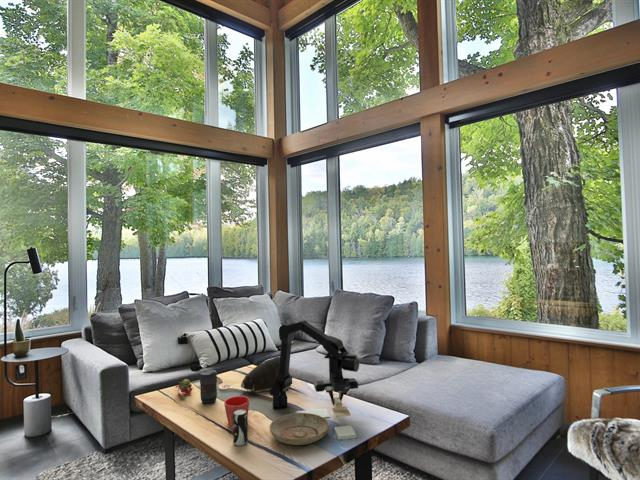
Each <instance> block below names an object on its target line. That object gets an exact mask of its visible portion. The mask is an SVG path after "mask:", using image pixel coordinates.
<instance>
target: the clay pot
mask: <svg viewBox="0 0 640 480" xmlns="http://www.w3.org/2000/svg"><path fill="white" fill-rule="evenodd" d="M279 362H280V356H275V357H273V358H270V359H268V360H264V362H262V363H260V364H257V366H256V367H254V368H253V369H252V370H250V371H249V372H248V374H246V375H244V377H243V379H242V381H241V382H240V387H241V389H244V390H246V391H252V392H254V393H260V392H263V391H269V390H270V389H271V388H272V387H273V386H274V381H275V378H276V376H277V374H278V372H279Z"/></svg>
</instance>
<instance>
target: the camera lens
mask: <svg viewBox="0 0 640 480" xmlns="http://www.w3.org/2000/svg"><path fill="white" fill-rule="evenodd" d="M217 375H218V373H217V370H215V369H206V370H202V371H201V372H200V373H199V385H200V387H199V388H200V389H199V390H200V395H199V396H200V401H201V404H202V405H206V406H207V405H208V406H210V405H213V404H215V403H216V402H217V397H218V390H217V389H218V388H217V387H218V385H217V383H218V380H217V379H218V376H217Z"/></svg>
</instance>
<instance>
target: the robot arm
mask: <svg viewBox="0 0 640 480" xmlns="http://www.w3.org/2000/svg"><path fill="white" fill-rule="evenodd" d="M299 331H301V332H303V333H304V334H306V335H307V336H309V337H310V338H312V339H313V340H314V341H316V342H318V343H319V344H320V345H321V346H322V348H323V349H324V350H325V352H327V353H326V355H324V357H323V358H324V359H328V368H329V369H328V373H329V376H328V377H329V379H328V380H329V382H325V381H324V380H317V381H314V383H313V385H314V386H313V387H314V391H315V392H317V393H318V392H319V393H321V392H325V393H327V394H328V395H329V397H330V402H331V401H332V403H331V405H332V406H333V405H334V397H333V394H334V392H336V393H337V392H338V397H339V399H340V401H341V402H342V400H343V397H344V395H345V393H346V392H348V391H349V389H348V388H350V389H351V390H352V389H353V390H354V389H358V388H359V381H358V380H357V379H355V378H354V377H353V378H351V377H350V378H348V377H344V376H343V375H344V374H343V371H347V372H348V371H349V372H355V373H357V372H358V371H359V369H360V361H359V358H358V355H357V354H349V352H348V350H347V349H346V347H345V346H344V344H343V343H344V342H343V340H341V339H339V338H338V337H335V336H332V335H328V334H327V333H324V332H323V331H322V330H320V329H319V328H316V327H315V326H314V325H312V324H311V323H309V322H308V321H307V320H303V319H302V320H299V321H298V322H295V323H293V322H287V323H284V324H282V325H280V326H279V328H278V337H279V341H280V342H281V343H280V353H279V357H280V362H279V372H278V374H277V376H276V378H275V381H274V386H273V387H272V388H271V389H270V390H268V392H269V393H268V394H269V395H270V396H271V397H272V410H281V409H287V406H288V394H287V392H288V391H289V388H290V387H292V384H293V379H294V378H293V377H294V376H293V375H291V373H290V363H291V352H292V343H293V341H294V339H295V337H296V333H297V332H299Z"/></svg>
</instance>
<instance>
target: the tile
mask: <svg viewBox="0 0 640 480" xmlns="http://www.w3.org/2000/svg"><path fill="white" fill-rule="evenodd" d="M333 431H334V433H335V435H336V437H337V439H339V440H338V441H340V439H342V440H349V438H351V439H357V434H356V432H355V429H354V428H353V427H352V425H344V426H335V427H334V428H333Z"/></svg>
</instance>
